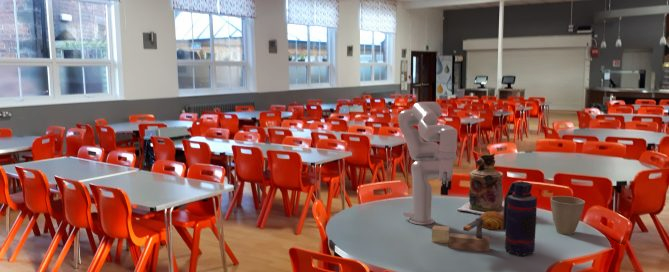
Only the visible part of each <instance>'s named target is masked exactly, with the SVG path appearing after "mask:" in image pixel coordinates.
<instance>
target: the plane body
mask: <svg viewBox="0 0 669 272" xmlns="http://www.w3.org/2000/svg"><path fill="white" fill-rule="evenodd" d="M475 228H476V229H475V235H473V234H472V235H471V234H464V233H463V234H461V233H453V232H449V240H448V248H449V249H458V250H466V251H467V250H468V251H477V252H478V251H479V252H486V253H489V252H490V245H491V244H490V242H491V241H490V239H491V237H490V236H483V227H482V224H480V225H478V226H476V227H475Z"/></svg>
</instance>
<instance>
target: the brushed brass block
mask: <svg viewBox="0 0 669 272" xmlns="http://www.w3.org/2000/svg"><path fill="white" fill-rule="evenodd" d="M449 235H450V226H446V225H433V226H432V228H431V242H432V243H438V244H439V243H441V244H449Z"/></svg>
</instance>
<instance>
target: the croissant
mask: <svg viewBox="0 0 669 272" xmlns="http://www.w3.org/2000/svg"><path fill="white" fill-rule="evenodd" d="M478 218H481V219H483V224H482V228H484V229H488V230H504V229H503V215H502V214H500V213H498V212H494V211H488V212H485V213H483V214H480V216H478Z"/></svg>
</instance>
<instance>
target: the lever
mask: <svg viewBox="0 0 669 272" xmlns="http://www.w3.org/2000/svg"><path fill="white" fill-rule="evenodd" d="M480 224H483V219H481V218H479V217H477V218H475V220H473V221H472V222H470V223H468V224H466V225H464V226H463V228H462V230H463V231H465V232H470V231H471V230H473V229H475V228H476V226H478V225H480Z"/></svg>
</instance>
